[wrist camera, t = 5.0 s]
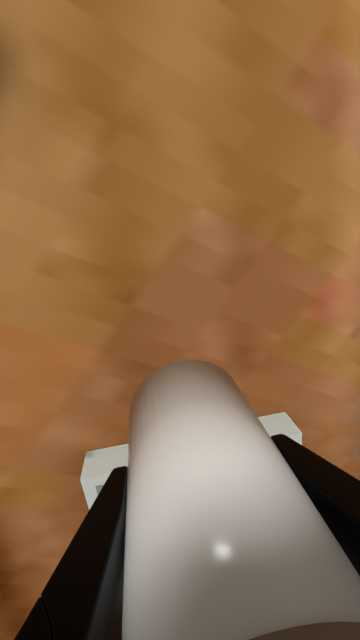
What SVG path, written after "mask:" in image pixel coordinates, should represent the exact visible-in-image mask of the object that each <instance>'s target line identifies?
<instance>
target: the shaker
mask: <svg viewBox="0 0 360 640" xmlns="http://www.w3.org/2000/svg"><path fill="white" fill-rule="evenodd" d="M122 640H360V576H359V574H358V573H357V571H356V570H355V568H354V566H353V565H352V563H351V562H350V560H349V559H348V557H347V556H346V554H345V552H344V551H343V549H342V548H341V546H340V545H339V543H338V542H337V540H336V538H335V537H334V535H333V534H332V532H331V531H330V529H329V527H328V526H327V524H326V523H325V521H324V520H323V518H322V517H321V515H320V513H319V512H318V510H317V509H316V507H315V506H314V504H313V503H312V501H311V499H310V498H309V496H308V495H307V493H306V492H305V490H304V489H303V487H302V485H301V484H300V482H299V481H298V479H297V478H296V476H295V475H294V473H293V471H292V470H291V468H290V467H289V465H288V464H287V462H286V460H285V459H284V457H283V456H282V454H281V453H280V451H279V450H278V448H277V446H276V445H275V443H274V442H273V440H272V439H271V437H270V436H269V434H268V432H267V431H266V429H265V428H264V426H263V425H262V423H261V422H260V420H259V418H258V417H257V415H256V414H255V412H254V411H253V409H252V408H251V406H250V404H249V403H248V401H247V400H246V398H245V397H244V395H243V393H242V392H241V390H240V389H239V387H238V386H237V384H236V383H235V381H234V380H233V378H232V377H231V376H230V375H229V374H228V373H227V372H226V371H225V370H223V369H222V368H220V367H219V366H217V365H215V364H212V363H210V362H206V361H201V360H181V361H176V362H172V363H169V364H167V365H164V366H162V367H160V368H158V369H157V370H155V371H154V372H152V373H151V374H150V375H148V376H147V377H146V378H145V379H144V380H143V381H142V382H141V384H140V385H139V387H138V388H137V389H136V391H135V393H134V395H133V398H132V401H131V405H130V416H129V445H128V473H127V501H126V529H125V558H124V586H123V614H122Z"/></svg>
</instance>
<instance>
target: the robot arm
mask: <svg viewBox="0 0 360 640" xmlns="http://www.w3.org/2000/svg"><path fill="white" fill-rule="evenodd" d="M271 439H272V440H273V442H274V443H275V445H276V446H277V448H278V450H279V451H280V453H281V454H282V456H283V457H284V459H285V460H286V462H287V464H288V465H289V467H290V468H291V470H292V471H293V473H294V475H295V476H296V478H297V479H298V481H299V482H300V484H301V485H302V487H303V489H304V490H305V492H306V493H307V495H308V496H309V498H310V499H311V501H312V503H313V504H314V506H315V507H316V509H317V510H318V512H319V513H320V515H321V517H322V518H323V520H324V521H325V523H326V524H327V526H328V527H329V529H330V531H331V532H332V534H333V535H334V537H335V538H336V540H337V542H338V543H339V545H340V546H341V548H342V549H343V551H344V552H345V554H346V556H347V557H348V559H349V560H350V562H351V563H352V565H353V566H354V568H355V570H356V571H357V573H358V574H359V576H360V481H359V480H358V479H356V478H354V477H353V476H351V475H350V474H348V473H346V472H345V471H343V470H341V469H340V468H338V467H337V466H335V465H333V464H332V463H330V462H328V461H327V460H325V459H323V458H322V457H320V456H319V455H317V454H315V453H314V452H312V451H310V450H309V449H307V448H306V447H304V446H302V445H301V444H299V443H297V442H296V441H294V440H293V439H291V438H289V437H288V436H286V435H284V434H277V435H272V436H271ZM127 473H128V467H127V466H122V467H117V468H114V469H113V470H112V472H111V473H110V475H109V477H108V479H107V480H106V482H105V484H104V485H103V487H102V489H101V491H100V492H99V494H98V496H97V498H96V499H95V501H94V503H93V505H92V506H91V508H90V510H89V512H88V513H87V515H86V517H85V519H84V520H83V522H82V524H81V525H80V527H79V529H78V531H77V532H76V534H75V536H74V538H73V539H72V541H71V543H70V545H69V546H68V548H67V550H66V552H65V553H64V555H63V557H62V559H61V560H60V562H59V564H58V565H57V567H56V569H55V571H54V572H53V574H52V576H51V578H50V579H49V581H48V583H47V585H46V586H45V588H44V590H43V592H42V593H41V597H42V598H41V597H39V598H38V600H37V602H36V603H35V605H34V607H33V609H32V610H31V612H30V614H29V616H28V617H27V619H26V621H25V622H24V624H23V626H22V627H21V629H20V631H19V632H18V634H17V636H16V637H15V639H14V640H122V614H123V586H124V558H125V529H126V501H127Z"/></svg>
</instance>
